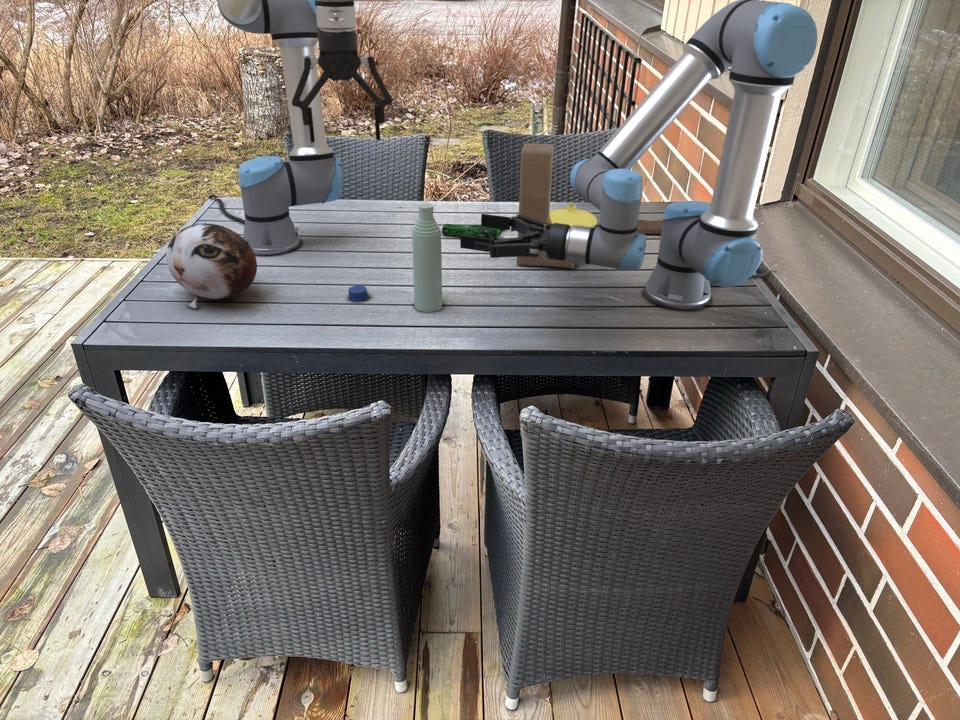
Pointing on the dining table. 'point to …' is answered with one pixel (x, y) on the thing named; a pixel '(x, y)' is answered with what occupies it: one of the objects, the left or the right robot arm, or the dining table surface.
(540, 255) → the decorative block
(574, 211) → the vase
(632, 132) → the right robot arm
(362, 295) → the cap
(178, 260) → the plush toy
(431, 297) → the bottle
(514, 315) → the dining table surface
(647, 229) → the wooden paddle board
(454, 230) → the handgun
